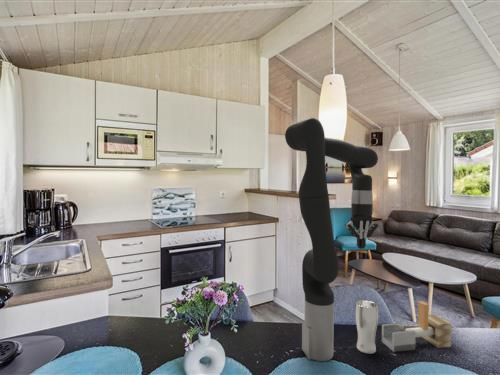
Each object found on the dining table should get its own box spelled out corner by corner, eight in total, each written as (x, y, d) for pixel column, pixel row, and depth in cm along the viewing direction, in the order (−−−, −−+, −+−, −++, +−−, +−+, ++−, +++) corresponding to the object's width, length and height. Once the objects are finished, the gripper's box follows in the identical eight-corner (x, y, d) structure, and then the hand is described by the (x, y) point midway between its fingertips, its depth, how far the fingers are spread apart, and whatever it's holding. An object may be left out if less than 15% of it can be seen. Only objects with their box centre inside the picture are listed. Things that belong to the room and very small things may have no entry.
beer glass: (353, 350, 96) (354, 305, 96) (356, 341, 102) (357, 298, 102) (376, 357, 92) (377, 310, 92) (378, 346, 99) (379, 302, 99)
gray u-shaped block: (393, 351, 95) (394, 333, 95) (381, 341, 102) (382, 324, 102) (415, 349, 97) (415, 331, 97) (402, 339, 103) (402, 322, 103)
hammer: (410, 339, 98) (411, 305, 98) (404, 335, 101) (405, 302, 101) (441, 336, 101) (441, 303, 101) (434, 332, 104) (434, 300, 104)
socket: (438, 348, 98) (438, 324, 98) (422, 337, 105) (422, 315, 105) (450, 346, 99) (451, 323, 99) (434, 336, 106) (434, 314, 106)
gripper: (350, 203, 105) (350, 251, 105) (383, 203, 107) (383, 250, 107) (340, 201, 112) (340, 246, 112) (371, 202, 115) (371, 245, 115)
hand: (361, 248), depth 110 cm, fingers closed
